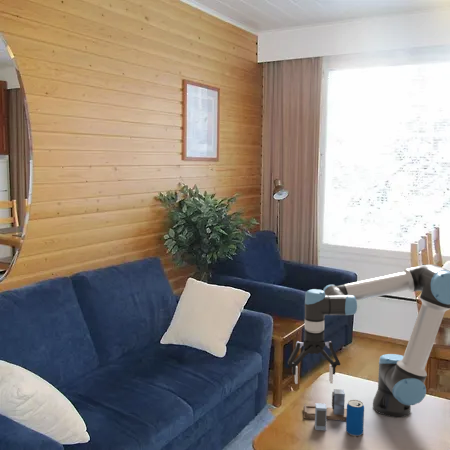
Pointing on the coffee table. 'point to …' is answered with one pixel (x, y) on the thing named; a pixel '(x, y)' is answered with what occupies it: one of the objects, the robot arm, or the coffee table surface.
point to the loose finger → (320, 416)
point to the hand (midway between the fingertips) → (313, 382)
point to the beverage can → (355, 417)
